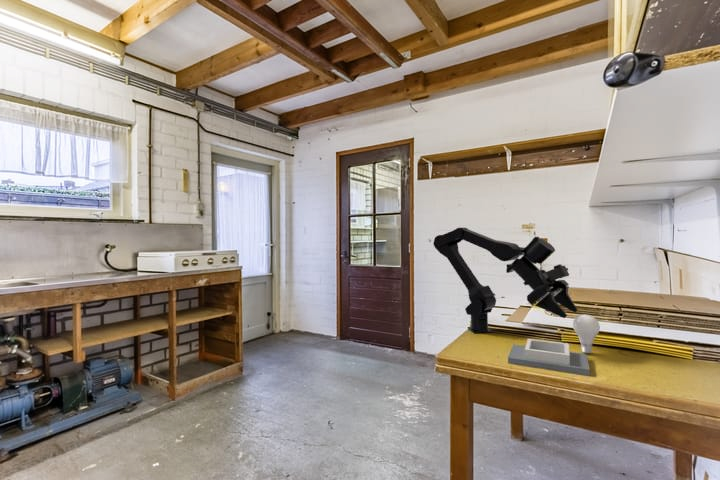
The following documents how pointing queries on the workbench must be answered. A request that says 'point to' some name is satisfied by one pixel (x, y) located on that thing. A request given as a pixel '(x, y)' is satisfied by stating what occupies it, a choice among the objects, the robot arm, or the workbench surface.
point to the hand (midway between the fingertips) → (571, 314)
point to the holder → (549, 357)
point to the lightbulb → (586, 331)
